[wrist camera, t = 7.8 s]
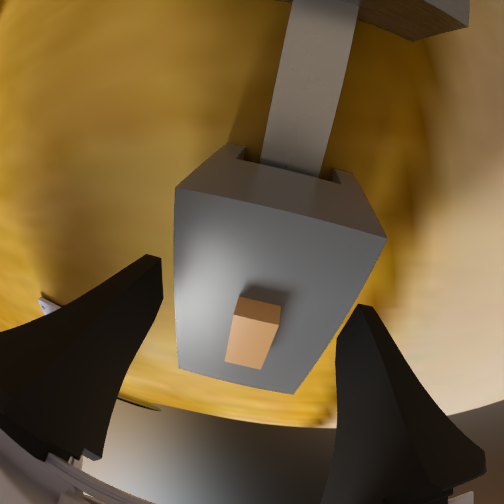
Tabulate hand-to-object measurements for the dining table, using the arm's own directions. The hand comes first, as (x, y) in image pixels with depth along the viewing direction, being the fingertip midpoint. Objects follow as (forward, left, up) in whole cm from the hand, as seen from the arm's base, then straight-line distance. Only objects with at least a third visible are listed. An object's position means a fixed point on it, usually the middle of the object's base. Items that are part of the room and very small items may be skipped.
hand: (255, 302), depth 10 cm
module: (0, 0, -4) cm, 4 cm away
